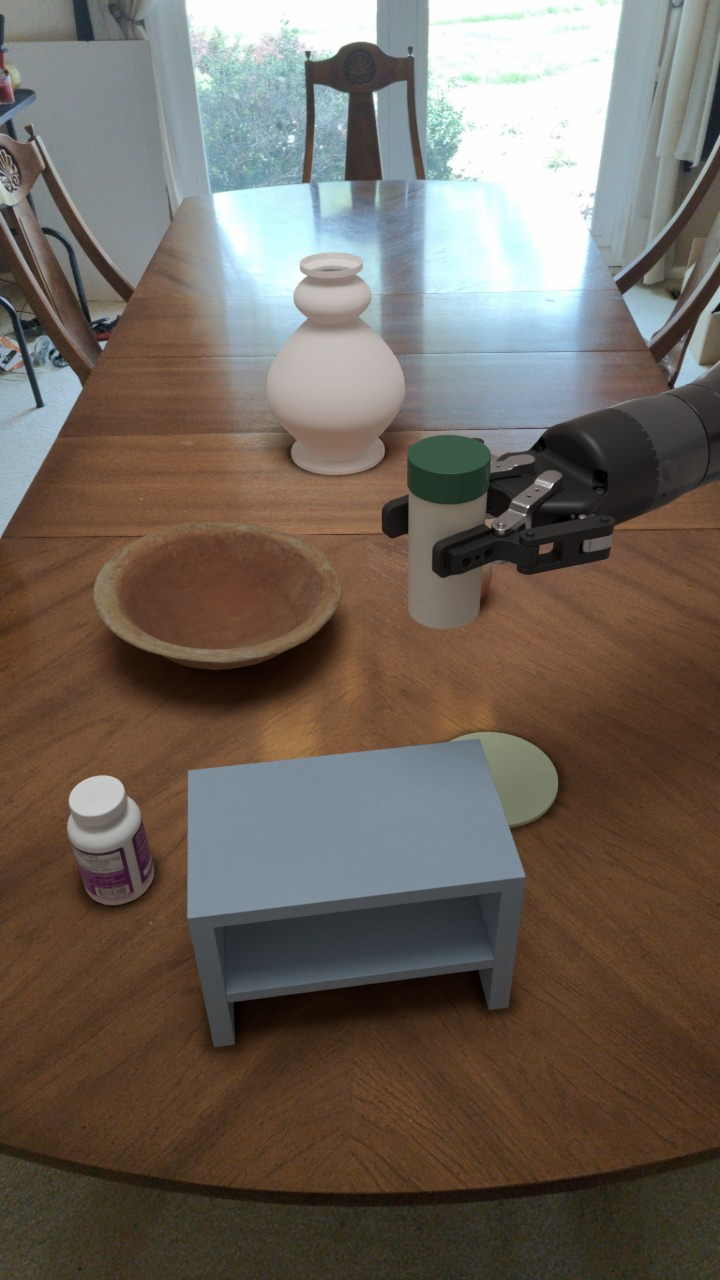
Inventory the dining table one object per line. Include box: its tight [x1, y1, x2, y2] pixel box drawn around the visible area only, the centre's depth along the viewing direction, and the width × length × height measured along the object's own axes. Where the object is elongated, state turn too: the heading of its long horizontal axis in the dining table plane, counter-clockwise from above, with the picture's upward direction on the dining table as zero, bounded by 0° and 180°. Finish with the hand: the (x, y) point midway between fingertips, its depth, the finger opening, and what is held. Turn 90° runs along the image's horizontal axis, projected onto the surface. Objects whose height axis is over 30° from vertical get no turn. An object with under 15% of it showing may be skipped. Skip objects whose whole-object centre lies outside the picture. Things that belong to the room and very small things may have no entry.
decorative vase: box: [265, 251, 406, 476], centre depth 124 cm, size 18×18×25 cm
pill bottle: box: [66, 774, 155, 906], centre depth 73 cm, size 5×5×10 cm
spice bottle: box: [406, 434, 492, 630], centre depth 60 cm, size 5×5×11 cm
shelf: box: [186, 739, 527, 1048], centre depth 66 cm, size 12×20×14 cm, turn 98°
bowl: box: [92, 521, 343, 671], centre depth 97 cm, size 24×24×8 cm
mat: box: [448, 731, 559, 829], centre depth 84 cm, size 11×11×1 cm
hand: (410, 541), depth 58 cm, fingers closed on spice bottle, 4 cm apart
